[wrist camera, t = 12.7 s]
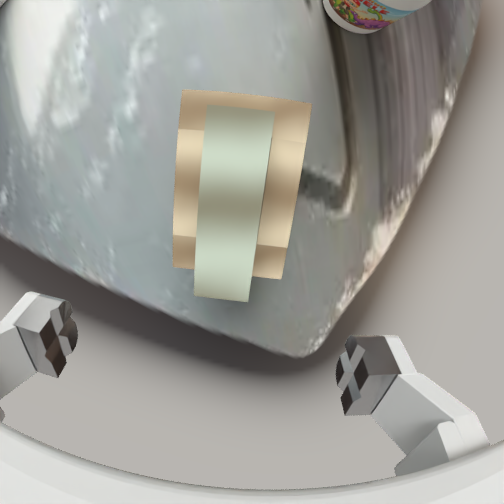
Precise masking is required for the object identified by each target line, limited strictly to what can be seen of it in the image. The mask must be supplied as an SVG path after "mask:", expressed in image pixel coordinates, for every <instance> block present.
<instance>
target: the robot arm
mask: <svg viewBox="0 0 504 504" xmlns="http://www.w3.org/2000/svg"><path fill="white" fill-rule="evenodd" d="M5 1H6V0H0V7H1V6H2V5H3V3H4V2H5ZM71 314H72V308H71V304H70V303H69V302H68V301H66V300H62V299H59V298H54V297H51V296H47V295H43V294H39V293H35V292H27V293H26V294H25V295H24V296H23V297H22V298H21V299H20V300H19V301H18V302H17V304H16V305H15V306H14V307H13V308H12V309H11V310H10V311H9V313H8V314H7V315H6V316H5V317H4V318H3V320H2V321H0V399H1V398H3V397H4V396H5V395H7V394H8V393H10V392H11V391H12V390H14V389H15V388H16V387H18V386H19V385H20V384H22V383H23V382H24V381H26V380H27V379H29V378H30V377H31V376H33V375H34V374H35V373H36V371H37V372H41V373H43V374H46V375H50V376H53V377H56V378H58V377H59V375H60V374H61V372H62V370H63V368H64V366H65V365H66V363H67V362H66V357H65V356H67V355H69V354H70V353H72V352H73V350H74V348H75V347H76V343H77V339H78V330H77V326H76V323H75V322H74V321H73V319H72V318H71V317H70V316H71ZM345 348H346V352H345V353H343V354H342V355H341V356H340V357H339V360H338V362H337V366H336V381H337V386H338V387H339V388H341V390H343V391H344V392H343V394H342V396H341V402H342V406H343V410H344V414H345V416H347V415H370V414H371V417H372V418H373V419H374V420H375V421H376V422H377V423H378V424H379V426H380V427H382V429H383V430H384V431H385V432H386V433H387V434H388V436H389V437H390V438H391V439H392V440H393V441H394V442H395V443H396V444H397V445H398V446H399V448H400V449H401V450H402V451H403V452H404V453H405V454H406V455H407V456H406V457H405V458H404V459H403V460H402V461H401V462H399V463H398V464H397V466H396V467H395V468H394V469H395V473H396V476H395V477H391V478H386V479H381V480H375V481H370V482H364V483H357V484H350V485H343V486H334V487H323V488H310V489H289V490H255V489H234V488H221V487H210V486H201V485H193V484H186V483H180V482H174V481H168V480H163V479H158V478H153V477H147V476H143V475H139V474H135V473H131V472H127V471H123V470H119V469H116V468H112V467H109V466H105V465H102V464H99V463H96V462H92V461H89V460H86V459H83V458H81V457H78V456H75V455H72V454H70V453H67V452H64V451H62V450H59V449H56V448H54V447H52V446H50V445H47V444H45V443H42V442H40V441H38V440H36V439H34V438H31V437H29V436H27V435H25V434H23V433H21V432H19V431H17V430H15V429H13V428H11V427H9V426H7V425H6V424H4V423H2V421H3V419H4V417H5V414H4V411H3V410H2V409H1V407H0V504H504V440H503V441H500V442H498V443H496V444H494V445H491V446H490V443H489V442H488V439H487V437H486V435H485V432H484V430H483V428H482V426H481V424H480V422H479V420H478V418H477V416H476V414H475V413H474V412H473V411H472V410H470V409H469V408H468V407H466V406H465V405H464V404H462V403H461V402H460V401H458V400H457V399H456V398H454V397H453V396H452V395H450V394H449V393H448V392H446V391H445V390H444V389H442V388H441V387H439V386H438V385H437V384H436V383H434V382H433V381H432V380H430V379H429V378H427V377H426V376H425V375H423V374H422V373H417V371H416V369H415V368H414V365H413V363H412V361H411V359H410V357H409V355H408V353H407V351H406V349H405V347H404V346H403V344H402V342H401V340H400V338H399V337H398V336H397V335H381V336H377V335H376V336H375V335H374V336H373V335H350V336H349V338H348V339H347V341H346V343H345Z"/></svg>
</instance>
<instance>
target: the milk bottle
mask: <svg viewBox="0 0 504 504" xmlns="http://www.w3.org/2000/svg"><path fill="white" fill-rule="evenodd" d="M430 1H431V0H323V4H324V8H325V10H326V12H327V13H328V15H329V16H330V18H331V19H332V20H333V21H334V22H335V23H337V24H338V25H339V26H341V27H342V28H344V29H346V30H348V31H351V32H354V33H360V34H368V33H373V32H376V31H378V30H380V29H382V28H384V27H386V26H388V25H389V24H391V23H393V22H395V21H397V20H399V19H401V18H403V17H405V16H407V15H409V14H411V13H413V12H415V11H416V10H418V9H420V8H422V7H423V6H425V5H427V4H428V3H429V2H430Z"/></svg>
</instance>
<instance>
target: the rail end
mask: <svg viewBox="0 0 504 504" xmlns="http://www.w3.org/2000/svg"><path fill="white" fill-rule="evenodd" d="M274 117H275V112H273V111H266V110H258V109H250V108H241V107H231V106H220V105H207V110H206V120H205V129H204V139H203V150H202V161H201V173H200V185H199V199H198V214H197V231H196V251H195V276H194V296H200V297H208V298H216V299H225V300H233V301H242V302H248V297H249V291H250V284H251V277H252V270H253V263H254V256H255V249H256V243H257V236H258V229H259V222H260V215H261V208H262V201H263V194H264V187H265V180H266V173H267V166H268V159H269V152H270V145H271V138H272V131H273V124H274Z"/></svg>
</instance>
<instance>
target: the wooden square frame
mask: <svg viewBox="0 0 504 504" xmlns="http://www.w3.org/2000/svg"><path fill="white" fill-rule="evenodd" d="M207 105H220V106H231V107H241V108H250V109H258V110H266V111H273V112H275V117H274V124H273V131H272V138H271V145H270V152H269V159H268V166H267V173H266V180H265V187H264V194H263V201H262V208H261V215H260V222H259V229H258V236H257V243H256V249H255V256H254V263H253V270H252V276H255V277H264V278H273V279H281V277H282V272H283V267H284V262H285V257H286V252H287V247H288V242H289V237H290V231H291V226H292V221H293V215H294V210H295V204H296V199H297V193H298V187H299V182H300V176H301V170H302V164H303V158H304V152H305V146H306V140H307V134H308V128H309V121H310V115H311V108H312V104H310V103H304V102H299V101H293V100H287V99H280V98H273V97H266V96H258V95H250V94H241V93H230V92H218V91H203V90H182V98H181V107H180V117H179V128H178V141H177V154H176V170H175V189H174V216H173V267H179V268H187V269H195V251H196V231H197V214H198V199H199V185H200V173H201V161H202V150H203V139H204V129H205V120H206V110H207Z"/></svg>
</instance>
